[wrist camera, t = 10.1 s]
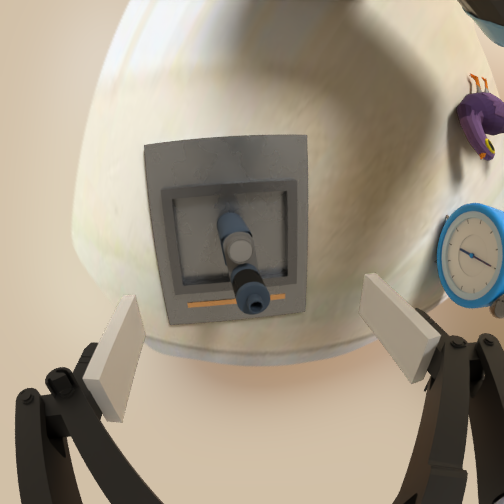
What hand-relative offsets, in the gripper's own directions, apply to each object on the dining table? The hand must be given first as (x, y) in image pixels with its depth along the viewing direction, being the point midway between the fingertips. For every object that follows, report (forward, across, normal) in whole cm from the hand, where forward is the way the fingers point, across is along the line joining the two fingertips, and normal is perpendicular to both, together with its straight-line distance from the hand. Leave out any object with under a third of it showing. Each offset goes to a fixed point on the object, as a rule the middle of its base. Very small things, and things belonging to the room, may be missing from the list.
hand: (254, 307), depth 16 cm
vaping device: (+15, 0, 0) cm, 15 cm away
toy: (+16, +35, +15) cm, 42 cm away
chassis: (+15, 0, -1) cm, 15 cm away
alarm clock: (+16, +30, -4) cm, 35 cm away
